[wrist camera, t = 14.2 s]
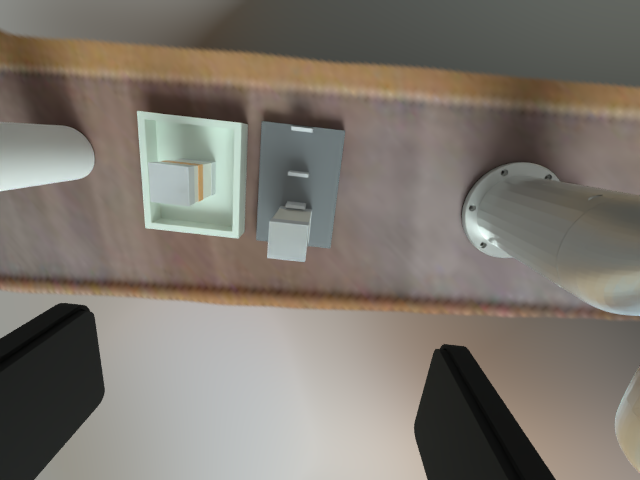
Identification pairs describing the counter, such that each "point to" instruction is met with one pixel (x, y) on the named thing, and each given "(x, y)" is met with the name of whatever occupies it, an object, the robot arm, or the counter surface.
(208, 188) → the block
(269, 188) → the block
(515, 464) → the robot arm
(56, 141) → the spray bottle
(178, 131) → the tray
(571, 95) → the counter surface
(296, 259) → the block
